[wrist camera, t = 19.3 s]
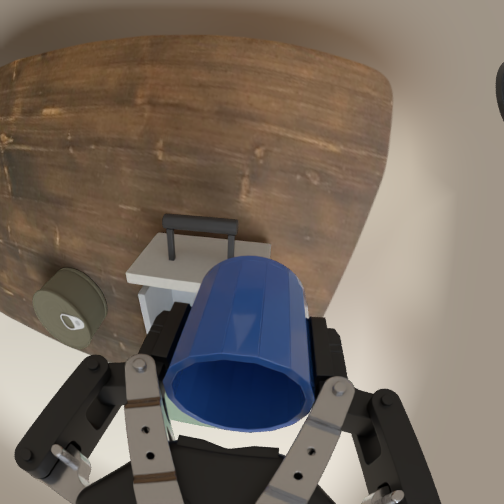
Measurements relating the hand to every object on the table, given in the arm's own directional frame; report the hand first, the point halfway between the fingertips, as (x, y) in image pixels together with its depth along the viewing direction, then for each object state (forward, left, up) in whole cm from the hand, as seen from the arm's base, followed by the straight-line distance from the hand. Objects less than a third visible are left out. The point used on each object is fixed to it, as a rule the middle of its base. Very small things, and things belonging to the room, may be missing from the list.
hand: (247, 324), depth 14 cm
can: (+30, +19, -20) cm, 41 cm away
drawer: (+6, +10, -19) cm, 22 cm away
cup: (0, 0, -2) cm, 2 cm away
